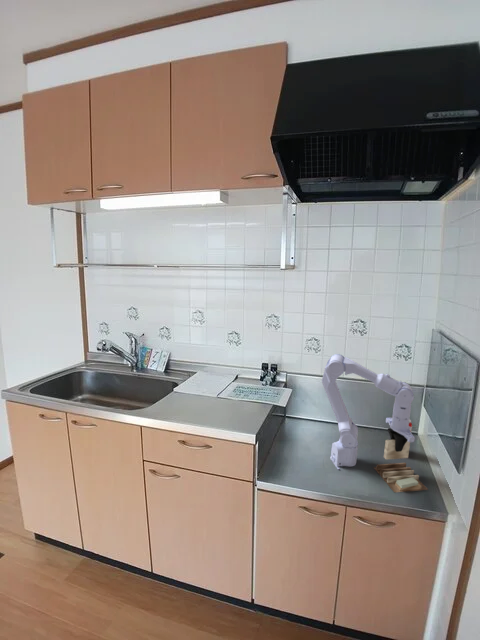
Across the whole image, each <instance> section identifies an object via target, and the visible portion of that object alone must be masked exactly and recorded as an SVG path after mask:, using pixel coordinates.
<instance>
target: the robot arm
mask: <svg viewBox="0 0 480 640" xmlns="http://www.w3.org/2000/svg"><path fill="white" fill-rule="evenodd" d="M343 374H344V375H345V376H347V375H352V374H354V375H356V376H358V377H361V378H363V379H366V380H368V381H369V382H372V383H373V384H374V386H375V388H376V389H379V390H381V391H383V392H385V393H386V394H388V395H391V396H393V397H394V401H393V408H392V409H393V410H392V416H391V417H386V418H385V423H386V424H388V425H389V427H388V428H387V432H388V434H389V436H390V440H395V450H396V452H400V451H402V449H403V447H404V445H405V443H406V442H407V441H408V442H410V443H414V442H415V439H416V438H415V436H414V434H413V433H412V431H411V432H410V430H409V429H411V427H410V426H409V419H410V418H411V417H410V416H411V411H412V402H413V401H414V399H415V397H414V396H415V395H414V391H413V387H411V385H410V384H409V383H408V382H406V381H402V380H397V379H395V378H393V377H391V374H389V373H386V374H385V373H376V372H374V371H372V370H371V369H369V368H367V367H365V366H363V365H362V364H360V363H358V362H356V361H355V360H353V359H351V358H349V357H347V356H344V355H342V354H340V353H335V354H332V355H331V357H330V358H328V360H327V363H326V365H325V367H324V370H323V374H322V377H321V383H322V386H323V388H324V391H325V393H326V397H327V398H328V401H329V405H330V406H331V408H332V411H333V414H334V416H335V419H336V420H337V421H336V422H337V424H338V425H337V426H338V432H339V435H340V437H339V439H338V441H335V442H332V444H331V450H330V451H331V452H330V457H329V459H330V461H331V462H332V463H333V465H334V466H335V468H336V470H339V471H340V470H341V468H340V467H354V466H356V465H357V458H358V450H359V449H358V448H359V442H358V434H359V428H358V426H357V425H356V424H355V422H354V421H353V419H352V418H351V417H350V415H349V412H348V410H347V408H346V407H347V406H346V405H345V401H344V399H343V397H342V394H341V392H340V389H339V387H338V384H337V382H336V381H337V379H338V378H339V377H341V376H342V375H343ZM410 420H411V419H410Z"/></svg>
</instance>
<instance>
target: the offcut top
mask: <svg viewBox="0 0 480 640" xmlns="http://www.w3.org/2000/svg"><path fill="white" fill-rule="evenodd" d="M396 484H397V485H399V486H400V487H401V488H406V487H411V486H416V485H418V481H417V480H415V479H414V478H413V477H412V478H407V479H402V480H397V482H396Z"/></svg>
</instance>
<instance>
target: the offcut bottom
mask: <svg viewBox="0 0 480 640" xmlns="http://www.w3.org/2000/svg"><path fill="white" fill-rule="evenodd" d="M395 485H396V487H397V488H398V489H399V490H400V491H405V490H417V489H421V485H420V484H419V483H418V485H416V486H411V487H406V488H401V487H400V486H399V485H397V484H396V482H395Z"/></svg>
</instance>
